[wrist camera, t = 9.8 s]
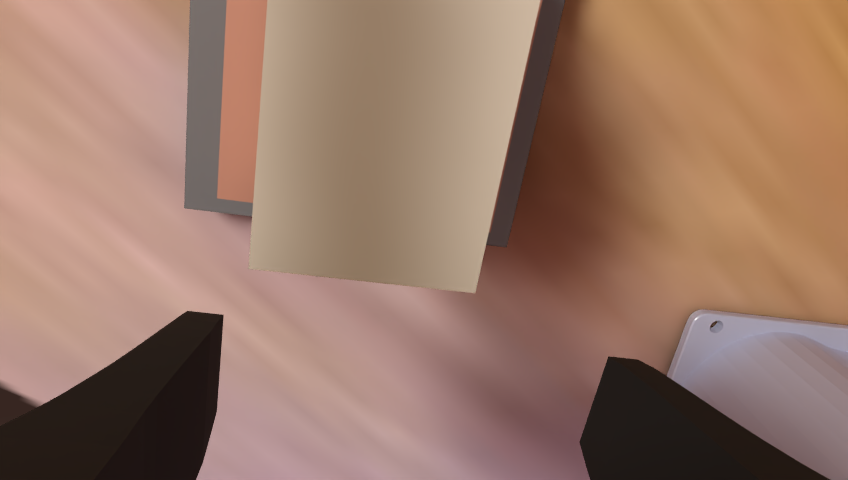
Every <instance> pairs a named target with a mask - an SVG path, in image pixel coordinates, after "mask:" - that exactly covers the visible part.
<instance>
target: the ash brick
mask: <svg viewBox="0 0 848 480" xmlns="http://www.w3.org/2000/svg"><path fill="white" fill-rule="evenodd" d="M539 4H540V0H267V13H266V28H265V42H264V56H263V70H262V84H261V99H260V113H259V127H258V141H257V155H256V169H255V184H254V198H253V212H252V226H251V240H250V255H249V269H255V270H264V271H273V272H283V273H292V274H301V275H310V276H320V277H329V278H338V279H348V280H357V281H366V282H376V283H385V284H394V285H403V286H413V287H422V288H431V289H441V290H450V291H459V292H468V293H475V292H476V287H477V283H478V278H479V274H480V269H481V265H482V260H483V256H484V251H485V247H486V242H487V238H488V233H489V229H490V224H491V220H492V216H493V211H494V207H495V202H496V198H497V193H498V189H499V184H500V180H501V175H502V171H503V166H504V162H505V157H506V153H507V148H508V144H509V139H510V135H511V130H512V126H513V121H514V117H515V112H516V108H517V103H518V99H519V94H520V90H521V85H522V81H523V76H524V72H525V67H526V63H527V58H528V54H529V49H530V45H531V40H532V36H533V31H534V27H535V22H536V18H537V13H538V9H539Z"/></svg>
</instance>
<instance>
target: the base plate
mask: <svg viewBox="0 0 848 480" xmlns="http://www.w3.org/2000/svg"><path fill="white" fill-rule="evenodd" d="M564 3H565V0H543V1H542V5H541V9H540V14H539V18H538V23H537V27H536V32H535V36H534V41H533V45H532V50H531V54H530V58H529V63H528V67H527V72H526V76H525V81H524V85H523V90H522V94H521V99H520V103H519V107H518V112H517V116H516V121H515V125H514V130H513V134H512V139H511V143H510V148H509V152H508V157H507V161H506V165H505V170H504V174H503V179H502V183H501V188H500V192H499V197H498V201H497V206H496V210H495V214H494V219H493V223H492V228H491V232H489V233H488V238H487V242H486V245H491V246H500V247H507V244H508V239H509V235H510V231H511V227H512V223H513V218H514V214H515V210H516V206H517V201H518V197H519V193H520V189H521V185H522V180H523V176H524V172H525V168H526V163H527V159H528V155H529V151H530V147H531V142H532V138H533V134H534V130H535V125H536V121H537V117H538V113H539V109H540V104H541V100H542V96H543V92H544V87H545V83H546V79H547V75H548V71H549V66H550V62H551V58H552V54H553V49H554V45H555V41H556V37H557V32H558V28H559V24H560V20H561V16H562V11H563V7H564ZM226 5H227V0H190V24H189V60H188V96H187V131H186V167H185V203H184V208H187V209H195V210H203V211H211V212H220V213H228V214H236V215H244V216H252V212H253V203H250V202H242V201H234V200H226V199H218V198H217V190H218V169H219V149H220V128H221V108H222V87H223V66H224V46H225V25H226Z"/></svg>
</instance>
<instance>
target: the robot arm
mask: <svg viewBox="0 0 848 480" xmlns="http://www.w3.org/2000/svg"><path fill="white" fill-rule="evenodd" d="M715 321H717V323H716V325H715V326H713V327H710V326H711V324H712V323H713V322H715ZM222 329H223V315H219V314H210V313H201V312H192V311H187V312H185V313H184V314H182V315H181V316H179V317H178V318H176V319H175V320H174V321H172V322H171V323H169V324H168V325H166V326H165V327H164V328H162V329H161V330H159V331H158V332H157V333H155V334H154V335H152V336H151V337H150V338H148V339H147V340H145V341H144V342H143V343H141V344H140V345H138V346H137V347H136V348H134V349H133V350H131V351H130V352H128V353H127V354H125V355H124V356H122V357H121V358H119V359H118V360H116V361H115V362H113V363H112V364H110V365H109V366H107V367H106V368H104V369H102V370H101V371H99V372H98V373H96V374H94V375H93V376H91V377H89V378H88V379H86V380H84V381H83V382H81V383H79V384H78V385H76V386H74V387H73V388H71V389H70V390H68V391H66V392H65V393H63V394H61V395H59V396H58V397H56V398H54V399H52V400H50V401H49V402H47V403H45V404H43V405H41V406H39V407H37V408H35V409H34V410H32V411H30V412H28V413H26V414H24V415H22V416H20V417H18V418H15V419H13V420H11V421H9V422H7V423H5V424H3V425H1V426H0V480H196V478H197V476H198V473H199V471H200V468H201V466H202V463H203V460H204V456H205V453H206V449H207V445H208V442H209V438H210V435H211V431H212V427H213V423H214V420H215V416H216V412H217V400H218V386H219V371H220V357H221V343H222ZM580 445H581V449H582V452H583V456H584V460H585V463H586V467H587V470H588V473H589V477H590V480H848V325H841V324H832V323H822V322H813V321H804V320H795V319H786V318H777V317H768V316H759V315H750V314H741V313H732V312H723V311H714V310H705V309H703V310H697V311H695V312H693V313H692V314H691V315H690V316H689V318H688V320H687V323H686V325H685V328H684V331H683V333H682V336H681V339H680V341H679V344H678V347H677V350H676V352H675V355H674V358H673V360H672V363H671V366H670V368H669V371H668V374H667V376H666V375H664V374H662V373H661V372H659V371H658V370H656V369H654V368H653V367H651V366H649V365H647V364H645V363H643V362H641V361H639V360H636V359H626V358H617V357H608V360H607V363H606V366H605V368H604V371H603V374H602V377H601V380H600V383H599V386H598V389H597V392H596V395H595V398H594V401H593V404H592V407H591V410H590V413H589V416H588V419H587V422H586V425H585V428H584V431H583V434H582V437H581V440H580Z"/></svg>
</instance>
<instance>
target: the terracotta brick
mask: <svg viewBox="0 0 848 480" xmlns="http://www.w3.org/2000/svg"><path fill="white" fill-rule="evenodd" d="M542 1H543V0H540V4H539V9H538V13H537V18H536V22H535V27H534V31H533V36H532V40H531V45H530V49H529V54H528V58H527V63H526V67H525V72H524V76H523V81H522V85H521V90H520V94H519V99H518V103H517V108H516V112H515V117H514V121H513V126H512V130H511V135H510V139H509V144H508V148H507V153H506V157H505V162H504V166H503V171H502V175H501V180H500V184H499V189H498V193H497V198H496V202H495V207H494V211H493V216H492V220H491V224H490V229H489V232H491V228H492V223H493V219H494V214H495V210H496V206H497V201H498V197H499V192H500V188H501V183H502V179H503V174H504V170H505V165H506V161H507V157H508V152H509V148H510V143H511V139H512V134H513V130H514V125H515V121H516V116H517V112H518V107H519V103H520V99H521V94H522V90H523V85H524V81H525V76H526V72H527V67H528V63H529V58H530V54H531V50H532V45H533V41H534V36H535V32H536V27H537V23H538V18H539V14H540V9H541V5H542ZM266 13H267V0H227V5H226V25H225V46H224V66H223V87H222V108H221V128H220V149H219V169H218V190H217V198H218V199H226V200H234V201H242V202H250V203H253V198H254V184H255V169H256V155H257V141H258V127H259V113H260V99H261V84H262V70H263V56H264V42H265V28H266Z"/></svg>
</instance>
